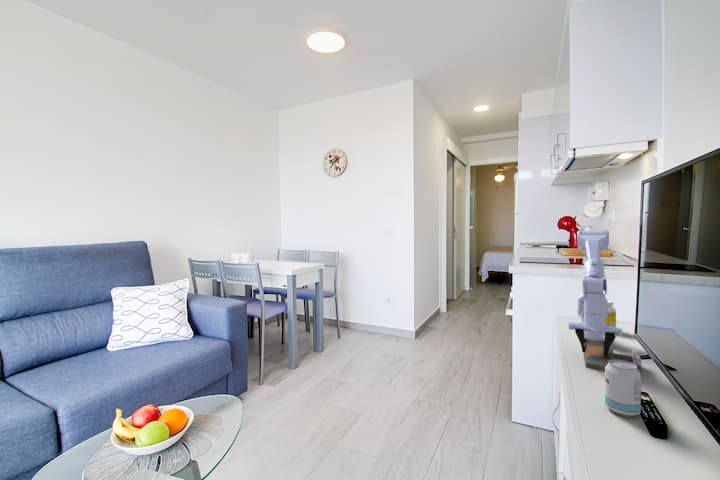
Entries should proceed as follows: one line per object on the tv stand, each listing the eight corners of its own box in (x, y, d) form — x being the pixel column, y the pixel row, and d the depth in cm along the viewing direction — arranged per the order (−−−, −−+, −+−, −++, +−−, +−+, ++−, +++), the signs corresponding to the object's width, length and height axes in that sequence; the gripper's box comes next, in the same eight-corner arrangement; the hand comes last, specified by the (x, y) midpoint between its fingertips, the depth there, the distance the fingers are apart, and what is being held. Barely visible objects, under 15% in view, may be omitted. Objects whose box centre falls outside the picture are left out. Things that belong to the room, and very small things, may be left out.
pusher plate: (607, 358, 109) (607, 346, 109) (611, 358, 108) (611, 346, 108) (610, 364, 104) (610, 352, 104) (614, 365, 103) (614, 353, 103)
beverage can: (605, 400, 86) (605, 356, 86) (640, 409, 82) (640, 362, 81) (604, 412, 81) (604, 365, 80) (641, 422, 76) (641, 372, 76)
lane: (583, 356, 114) (583, 342, 114) (635, 363, 107) (635, 348, 107) (585, 367, 106) (585, 352, 105) (641, 376, 98) (641, 360, 98)
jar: (584, 353, 112) (584, 336, 112) (604, 356, 109) (604, 339, 109) (584, 359, 108) (584, 341, 108) (605, 362, 105) (605, 344, 104)
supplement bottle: (619, 333, 135) (619, 303, 134) (601, 333, 136) (601, 302, 136) (610, 328, 141) (610, 299, 141) (593, 328, 143) (593, 299, 142)
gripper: (568, 313, 108) (568, 353, 109) (624, 318, 101) (624, 361, 101) (568, 308, 114) (568, 346, 115) (620, 313, 107) (620, 353, 107)
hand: (594, 353), depth 108 cm, fingers closed on jar, 5 cm apart
